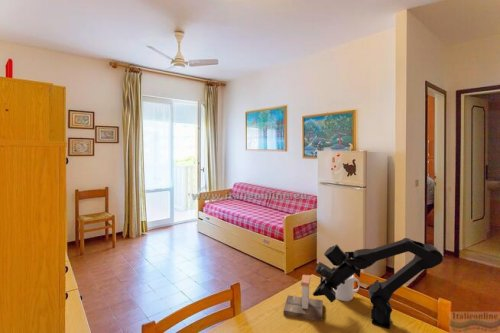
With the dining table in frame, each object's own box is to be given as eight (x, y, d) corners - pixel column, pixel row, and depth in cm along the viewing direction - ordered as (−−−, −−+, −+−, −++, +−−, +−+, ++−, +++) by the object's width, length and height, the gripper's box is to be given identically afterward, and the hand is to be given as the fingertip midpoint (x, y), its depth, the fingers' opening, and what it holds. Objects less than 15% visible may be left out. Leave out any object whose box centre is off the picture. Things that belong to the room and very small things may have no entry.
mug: (363, 301, 127) (364, 278, 126) (337, 302, 127) (338, 279, 126) (355, 290, 136) (355, 269, 135) (331, 292, 135) (331, 270, 134)
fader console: (322, 304, 125) (322, 300, 125) (321, 321, 113) (321, 316, 113) (287, 299, 129) (287, 295, 129) (283, 315, 118) (283, 310, 117)
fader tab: (309, 300, 124) (310, 275, 123) (308, 309, 117) (309, 283, 116) (302, 299, 125) (302, 274, 123) (300, 308, 118) (301, 282, 117)
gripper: (327, 249, 125) (302, 270, 129) (327, 268, 107) (297, 291, 112) (346, 269, 124) (319, 289, 128) (348, 291, 106) (317, 313, 110)
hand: (313, 294), depth 119 cm, fingers closed
